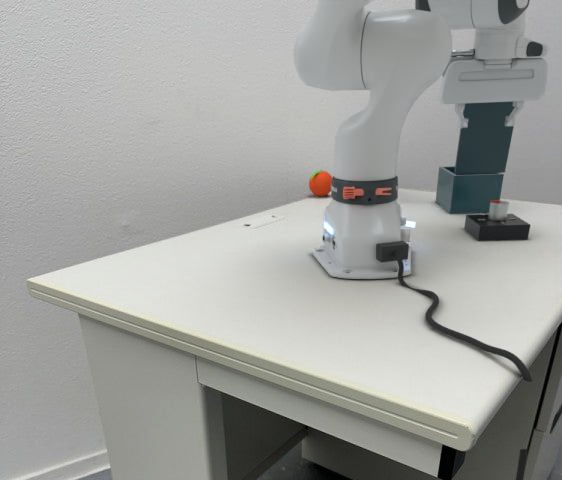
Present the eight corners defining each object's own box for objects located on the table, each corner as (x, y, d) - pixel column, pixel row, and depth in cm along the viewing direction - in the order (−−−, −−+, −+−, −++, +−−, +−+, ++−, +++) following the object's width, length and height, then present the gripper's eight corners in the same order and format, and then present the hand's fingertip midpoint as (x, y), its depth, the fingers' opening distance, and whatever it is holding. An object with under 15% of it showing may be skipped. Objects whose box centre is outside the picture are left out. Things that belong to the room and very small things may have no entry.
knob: (502, 217, 115) (505, 198, 113) (508, 221, 112) (512, 202, 110) (485, 217, 115) (488, 199, 113) (491, 221, 112) (494, 202, 110)
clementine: (320, 200, 151) (320, 173, 148) (301, 197, 156) (301, 171, 152) (338, 195, 156) (338, 169, 153) (319, 192, 161) (319, 167, 157)
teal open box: (435, 201, 145) (439, 166, 141) (479, 200, 145) (484, 165, 141) (449, 213, 132) (454, 175, 128) (497, 212, 132) (504, 174, 128)
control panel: (527, 239, 110) (530, 223, 109) (478, 240, 111) (480, 225, 109) (510, 227, 119) (512, 212, 118) (464, 228, 119) (466, 214, 118)
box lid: (464, 100, 120) (465, 100, 119) (517, 98, 119) (519, 98, 119) (454, 173, 128) (455, 174, 127) (503, 171, 128) (504, 172, 127)
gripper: (446, 50, 101) (438, 131, 108) (557, 45, 101) (541, 127, 108) (438, 50, 107) (430, 127, 114) (543, 45, 106) (529, 123, 114)
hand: (485, 127), depth 111 cm, fingers open, 8 cm apart
